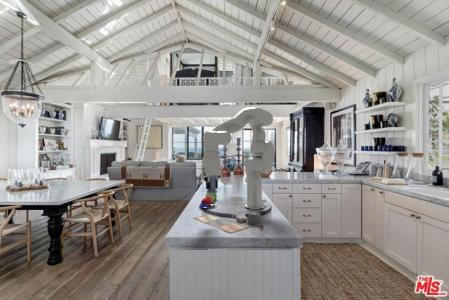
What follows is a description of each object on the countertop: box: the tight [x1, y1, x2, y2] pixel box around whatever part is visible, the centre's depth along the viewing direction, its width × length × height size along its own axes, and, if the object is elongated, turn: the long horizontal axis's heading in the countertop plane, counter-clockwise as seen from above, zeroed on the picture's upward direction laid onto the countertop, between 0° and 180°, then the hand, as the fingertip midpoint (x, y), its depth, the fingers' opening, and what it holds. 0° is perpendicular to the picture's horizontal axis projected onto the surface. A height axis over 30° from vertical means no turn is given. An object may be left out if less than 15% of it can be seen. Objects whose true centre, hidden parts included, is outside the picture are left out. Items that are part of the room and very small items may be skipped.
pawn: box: [206, 175, 218, 194], centre depth 146 cm, size 6×6×11 cm
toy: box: [198, 192, 219, 209], centre depth 177 cm, size 8×8×15 cm
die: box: [247, 211, 262, 225], centre depth 142 cm, size 5×5×5 cm
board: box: [192, 213, 250, 234], centre depth 142 cm, size 12×32×1 cm, turn 40°
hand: (211, 188), depth 146 cm, fingers closed on pawn, 4 cm apart
